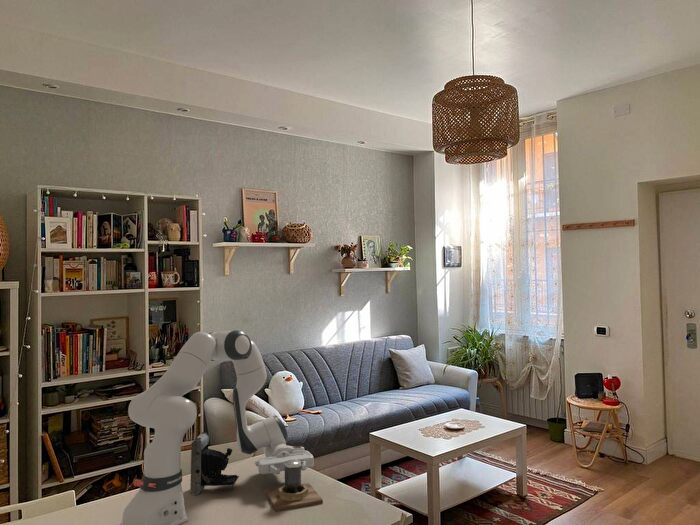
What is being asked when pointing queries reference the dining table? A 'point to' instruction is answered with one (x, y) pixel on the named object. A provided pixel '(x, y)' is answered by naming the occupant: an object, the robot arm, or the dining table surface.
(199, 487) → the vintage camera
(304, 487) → the mount
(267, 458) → the robot arm
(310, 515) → the dining table surface
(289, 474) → the canister
